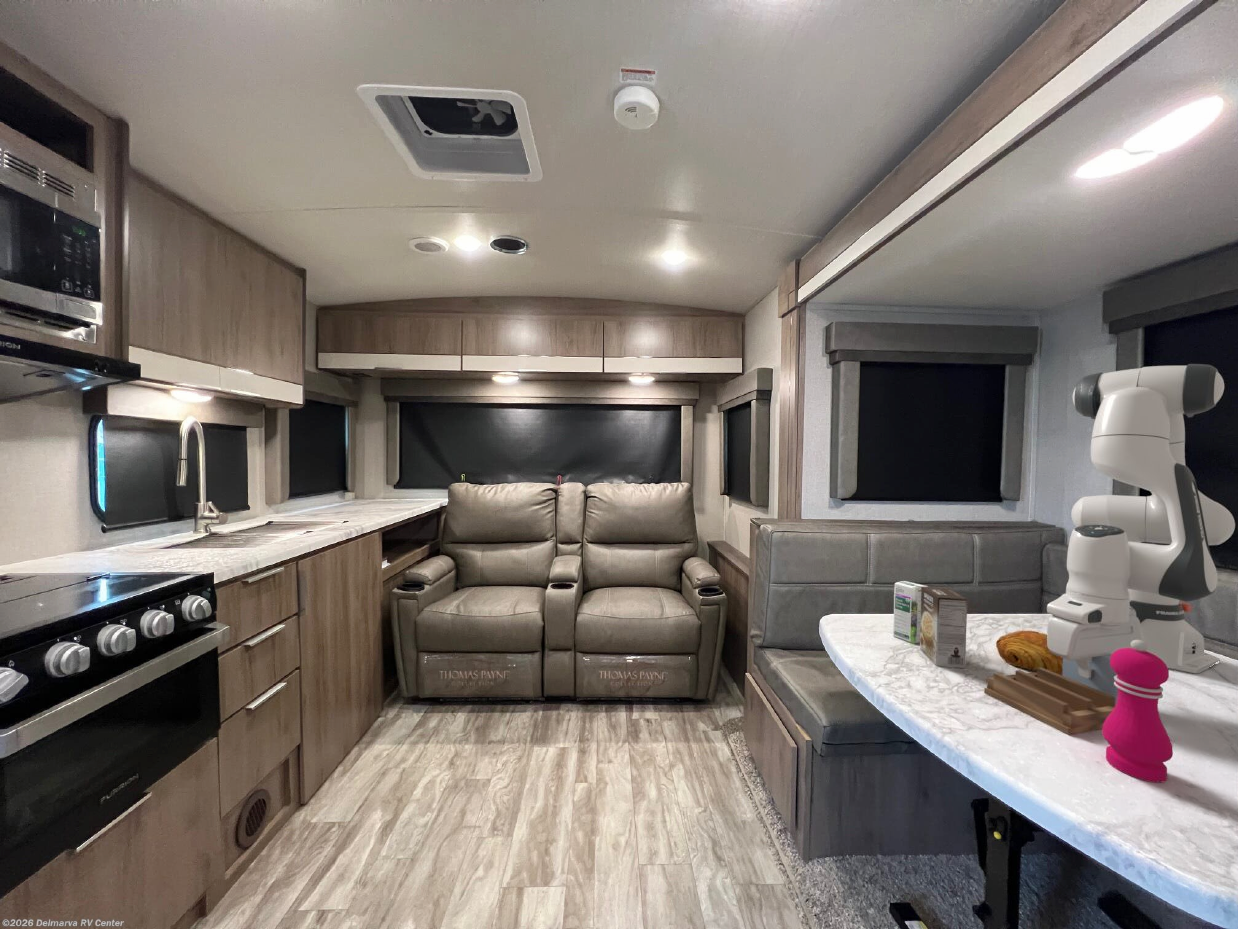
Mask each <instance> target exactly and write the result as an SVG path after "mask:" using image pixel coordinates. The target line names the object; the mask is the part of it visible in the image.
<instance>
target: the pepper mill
mask: <svg viewBox="0 0 1238 929" xmlns="http://www.w3.org/2000/svg"><path fill="white" fill-rule="evenodd" d="M1131 647H1132V648H1122V649H1118V650H1116V651H1115V652H1113V654H1112V655H1111V657H1110V665H1111V668H1112V669H1113V670H1114V671H1115V673H1116V674H1117V675H1116V676H1114V679H1115V682H1114V685H1115V686H1116V687H1117V688H1118V698H1117V703H1116V705H1115V708H1114V709H1113V711H1112V712H1111V713H1110V714H1109V716H1108V717H1107V718H1106V720H1105V722H1104V724H1103V729H1101V730H1102V731H1101V734H1102V736H1103V738H1104V740H1105V741H1106V742H1107V743H1108V744H1109V745H1108V746H1106V747H1105V760H1106V761H1107V763H1108V764H1110V765H1111V766H1112V767H1113V768H1114V769H1116V770H1118V771H1119V772H1121V773H1123V774H1126V775H1128V776H1130V777H1134V778H1136V779H1139V780H1142V781H1146V782H1149V783H1150V782H1151V783H1152V782H1153V783H1164V782H1165V781H1167V779H1168V767H1167V765H1166V764H1165V762H1168V761H1170V760H1171V759H1172V757H1173V754H1174V752H1173V751H1174V750H1173V745H1172V742H1171V741H1172V740H1171V738H1170V736H1169V734H1168V733H1167V730H1166V728H1165V727H1164V724H1163V722H1162V719H1161V718H1160V714H1159V706H1158V704H1159V699H1160V700H1161V699H1162V698H1163V697H1164V695H1163V692H1164V688H1163V687H1162V686H1161V685H1162V684H1164V683H1166V682H1168V680H1169V677H1170V675H1169V672H1170V671H1169V668H1167V665H1166V664H1165V663H1164V662H1163V661H1162V660H1161V659H1160V658H1159V657H1157V656H1156V655H1154V654H1152V653H1150V652H1147V649H1148V646H1147V644H1146V643H1145V642H1143V641H1141V640H1133V641H1132V642H1131Z"/></svg>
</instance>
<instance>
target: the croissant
mask: <svg viewBox="0 0 1238 929" xmlns="http://www.w3.org/2000/svg"><path fill="white" fill-rule="evenodd" d="M995 642H996V644H995V645H996V646H995V647H996V649H997V652H998V655H999V656H1000V658H1002V659H1003V660H1004V661H1005V662H1006V663H1007V664H1010V665H1012V666H1013V667H1018V668H1021V669H1026V670H1029V671H1033V672H1036V673H1037V668H1040V667H1041V668H1044V669H1046V670H1049V671H1051V672H1054V673H1056V674H1059V675H1061V676H1062V673H1063V658H1062V657H1059V656H1057V655H1054V654H1052V653H1051V652H1050V650H1049V649H1048V645H1047V633H1041V632H1039V631H1034V630H1017V631H1014V632H1011V633H1010V632H1009V633H1007V634H1005V635H1002V636H1000V637H999V638H998V639H997V641H995Z"/></svg>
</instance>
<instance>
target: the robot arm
mask: <svg viewBox="0 0 1238 929" xmlns="http://www.w3.org/2000/svg"><path fill="white" fill-rule="evenodd" d="M1224 382H1225V381H1224V379H1223V376H1222V375H1221V374H1220V373H1219V370H1218V368H1216V367H1214V366H1213V365H1211V364H1204V363H1203V364H1202V363H1189V364H1187V365H1156V366H1155V365H1152V366H1143V367H1142V368H1141V367H1140V368H1129V369H1122V370H1115V371H1110V372H1104V373H1103V372H1097V373H1092V374H1089V375H1085V376H1083V377H1082V378H1081V379H1080V380H1078V381H1077V383H1076V385H1075V387H1074V389H1073V393H1072V402H1073V405H1074V407H1075V410H1076V412H1077V413H1078V414H1080V415H1081V416H1083V417H1087V418H1090V419H1092V420H1094V423H1093V428H1092V434H1091V441H1090V460H1091V463H1092V465H1093V466H1094V467H1095V469H1097V471H1098V472H1100V473H1102V474H1103V475H1104V476H1106V477H1109V478H1110V479H1113V480H1115V481H1118V482H1121V483H1124V484H1126V485H1127V484H1128V485H1129V486H1134V487H1137V488H1140V489H1143V490H1146V491H1149V492H1150V493H1151V495H1147V496H1140V495H1139V496H1138V495H1124V494H1123V495H1116V494H1101V495H1099V494H1098V495H1091V496H1082V497H1081V498H1080V499H1078V500H1077V501H1076V502H1075V503H1074V504H1073V505H1072V508H1071V512H1070V515H1071V521H1072V523H1073V525H1074V526H1075V527H1074V528H1073V529H1072V531H1071V534H1070V537H1069V541H1068V547H1067V554H1066V570H1067V573H1068V581H1067V583H1066V587H1065V593H1063V594H1061V595H1060V596H1059V597H1058V598H1056V599H1055V600H1053V601H1050V602H1049V603H1048V604H1047V605H1046V611H1047V612H1046V613H1047V614H1049V615H1051V616H1050V617H1049V619H1048V620H1047V627H1046V628H1047V631H1046V634H1047V645H1048V649H1049V650H1050V652H1051V653H1052V654H1054V655H1057V656H1059V657H1062V658H1065V659H1068V660H1074V659H1075V661H1076V663H1077V665H1078V666H1079V671H1078V673H1079V675H1080V676H1083V677H1085V678H1093V677H1094V673H1095V669H1092V668H1091V666H1090V663H1089V662H1091V661H1092V657H1097V656H1103V655H1111V654H1113V652H1115V651H1116V650H1118V649H1122V648H1132V647H1131V642H1132V641H1133V640H1141V641H1143V642H1145V643H1146V644H1147V646H1148V649H1147V652H1150V653H1152V654H1154V655H1156V656H1157V657H1159V658H1160V659H1161V660H1162V661H1163V662H1164V663H1165V664H1166V665H1167V668H1168V669H1170V670H1171V669H1172V670H1178V671H1182V672H1187V673H1192V674H1200V673H1202V672H1205V671H1206V670H1209V669H1210V668H1209V667H1210V666H1212V665H1213V664H1215V663H1216V662H1218V661H1220V662H1221V659H1220V658H1219V657H1217V656H1214V655H1212V654H1209V653H1207V652H1205V638H1204V635H1202V634H1201V632H1199V631H1198V630H1197V629H1196V628H1194V626H1192V625H1190V624H1189V623H1188V622H1187V621H1186V620H1185V619H1186V616H1185V613H1190V612H1191V611H1192V606H1191V604H1190V603H1188V602H1193V601H1197V600H1200V599H1203V598H1206V597H1208V596H1211V595H1213V594H1214V593H1215V590H1216V588H1217V585H1218V580H1219V579H1218V578H1219V577H1218V576H1219V575H1218V571H1217V567H1216V566H1215V563H1214V560H1213V557H1212V554H1211V548H1210V546H1218V545H1221V544H1223V543H1225V542H1226V541H1227V540H1229V538H1231V537H1232V535H1233V534H1234V531H1235V528H1236V522H1235V519H1234V516H1233V514H1232V513H1231V511H1230V510H1228V509H1227V508H1226V507H1225V506H1224V505H1223V504H1220V503H1219V502H1217V501H1214V500H1213V499H1211V498H1209V497H1208V496H1206V495H1205V494H1203V493H1202V492H1201V491H1200V490H1199V489H1198V486H1197V482H1196V478H1195V477H1194V474H1193V473H1192V470H1191V469H1190V468H1189V467H1188V466H1187V465H1186V458H1185V456H1186V452H1185V449H1186V448H1185V447H1186V446H1185V444H1186V431H1185V430H1186V427H1185V420H1184V415H1186V416H1187V418H1193V417H1194V415H1198V414H1201V413H1205V412H1207V411H1209V410H1211V409H1213V408H1214V407H1217V403H1218V402H1219V401H1220V399H1221V398H1222V396H1223V394H1224V390H1225V383H1224ZM1154 543H1156V544H1154ZM1163 544H1164V545H1163ZM1181 601H1182V602H1181ZM1185 602H1186V603H1185ZM1208 668H1209V669H1208Z"/></svg>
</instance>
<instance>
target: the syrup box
mask: <svg viewBox="0 0 1238 929" xmlns="http://www.w3.org/2000/svg"><path fill="white" fill-rule="evenodd" d="M921 587H928V585H923V584H920V583H915V582H911V581H907V580H902V581H901V580H900V581H897V582H895V583H894V591H893V593H894V594H893V630H892V636H893V637H894V638H898V639H900V640H903V641H906V642H909V643H911V644H918V643H920V624H921Z"/></svg>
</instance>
